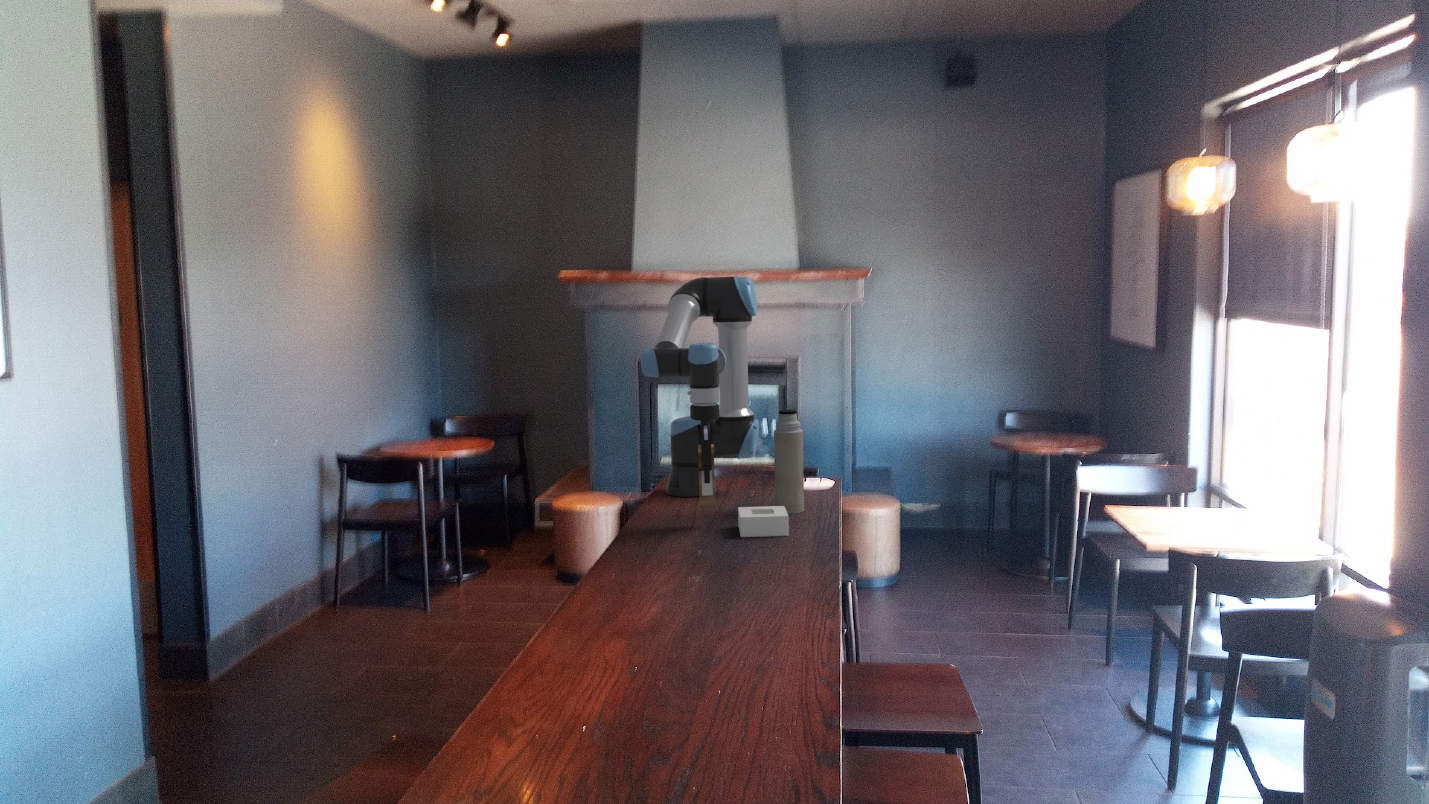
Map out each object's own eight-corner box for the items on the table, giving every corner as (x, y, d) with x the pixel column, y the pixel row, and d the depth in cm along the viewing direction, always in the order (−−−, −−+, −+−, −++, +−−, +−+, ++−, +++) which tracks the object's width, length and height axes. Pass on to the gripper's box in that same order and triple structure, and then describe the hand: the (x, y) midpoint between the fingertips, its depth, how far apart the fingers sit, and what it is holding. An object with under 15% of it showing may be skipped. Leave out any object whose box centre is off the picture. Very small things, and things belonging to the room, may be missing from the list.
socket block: (738, 526, 275) (738, 507, 275) (784, 524, 275) (784, 505, 275) (740, 537, 263) (740, 517, 263) (788, 535, 263) (788, 515, 263)
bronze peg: (699, 505, 277) (697, 445, 275) (715, 504, 277) (713, 444, 275) (699, 508, 273) (697, 447, 271) (715, 508, 273) (714, 447, 271)
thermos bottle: (803, 507, 296) (801, 408, 293) (805, 513, 288) (803, 411, 285) (774, 507, 296) (772, 408, 293) (775, 514, 288) (773, 412, 285)
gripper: (689, 399, 280) (692, 486, 283) (690, 408, 263) (692, 501, 266) (718, 398, 280) (720, 485, 283) (720, 407, 263) (722, 500, 266)
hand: (707, 492), depth 274 cm, fingers closed on bronze peg, 4 cm apart
